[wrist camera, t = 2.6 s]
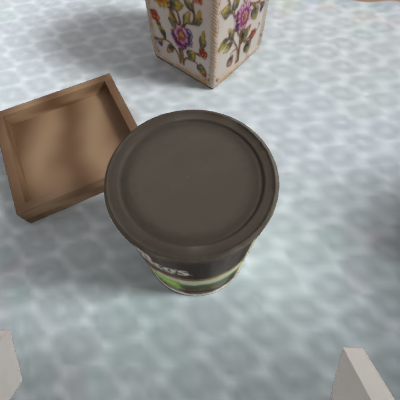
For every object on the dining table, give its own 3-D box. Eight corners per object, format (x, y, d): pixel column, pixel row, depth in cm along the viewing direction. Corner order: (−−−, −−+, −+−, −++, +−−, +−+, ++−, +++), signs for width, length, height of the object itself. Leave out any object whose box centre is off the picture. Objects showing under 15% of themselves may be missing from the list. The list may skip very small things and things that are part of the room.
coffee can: (198, 321, 26) (192, 306, 13) (127, 246, 29) (67, 177, 16) (267, 243, 29) (315, 171, 16) (195, 183, 32) (190, 85, 20)
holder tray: (114, 87, 39) (109, 73, 37) (157, 168, 33) (153, 157, 31) (5, 127, 36) (-8, 114, 34) (30, 223, 30) (16, 214, 28)
